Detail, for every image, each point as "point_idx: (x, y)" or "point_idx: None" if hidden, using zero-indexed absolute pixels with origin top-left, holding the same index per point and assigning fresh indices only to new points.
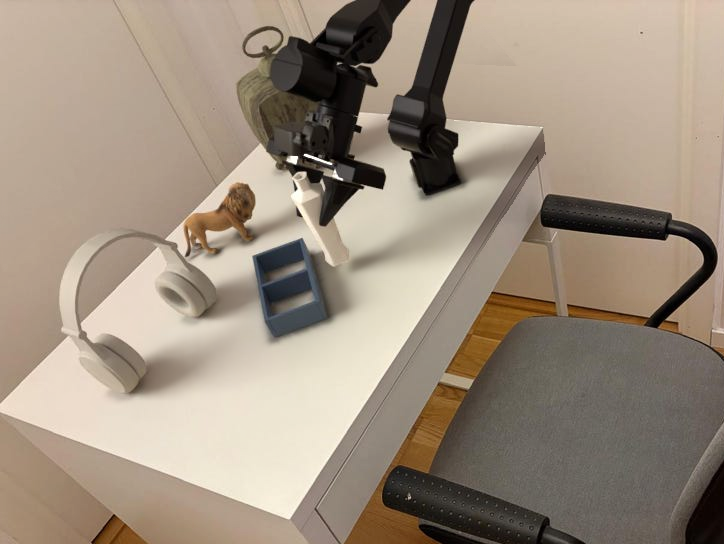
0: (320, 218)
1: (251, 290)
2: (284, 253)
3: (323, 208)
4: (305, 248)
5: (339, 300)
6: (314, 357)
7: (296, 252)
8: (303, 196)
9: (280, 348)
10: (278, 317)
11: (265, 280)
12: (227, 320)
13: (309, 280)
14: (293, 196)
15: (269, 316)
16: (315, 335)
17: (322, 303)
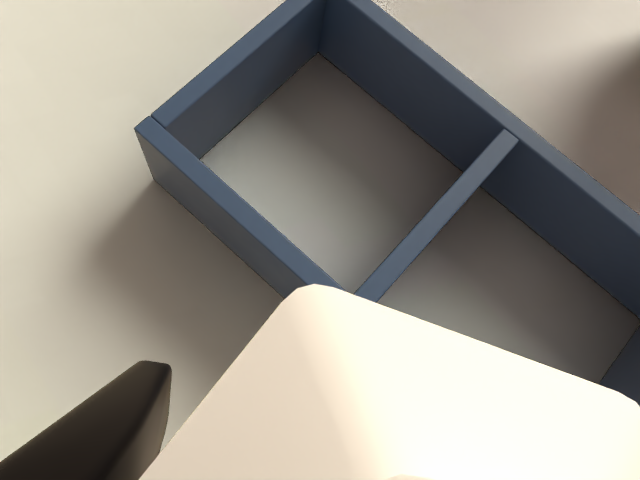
0: (133, 395)
1: None
2: None
3: (39, 473)
4: None
5: (164, 286)
6: (91, 3)
7: None
8: (318, 401)
9: (257, 3)
10: (283, 3)
11: (586, 260)
12: (568, 55)
13: None
14: (580, 402)
15: (353, 28)
16: (154, 89)
17: (184, 194)
